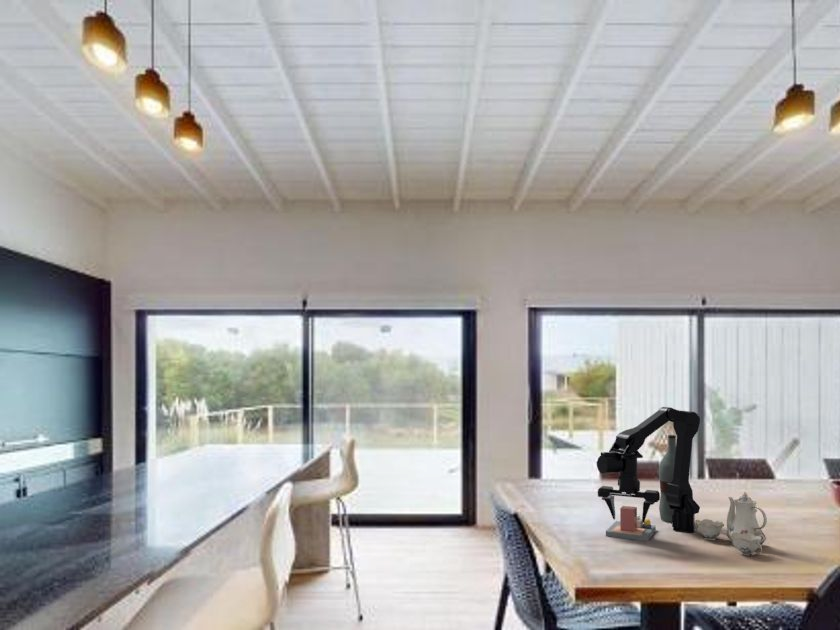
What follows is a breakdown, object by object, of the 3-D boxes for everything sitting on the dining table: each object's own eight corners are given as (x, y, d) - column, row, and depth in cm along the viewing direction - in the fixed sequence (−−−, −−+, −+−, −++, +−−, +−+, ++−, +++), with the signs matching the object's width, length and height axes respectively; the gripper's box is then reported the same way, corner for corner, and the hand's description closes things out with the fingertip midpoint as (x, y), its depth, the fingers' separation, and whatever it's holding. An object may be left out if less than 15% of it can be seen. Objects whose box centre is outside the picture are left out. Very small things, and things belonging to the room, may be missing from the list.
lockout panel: (655, 530, 231) (655, 516, 231) (647, 541, 216) (647, 526, 217) (616, 525, 237) (615, 512, 237) (605, 535, 222) (605, 522, 223)
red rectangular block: (637, 529, 224) (636, 507, 224) (634, 532, 220) (634, 509, 221) (623, 527, 226) (623, 505, 226) (620, 530, 222) (620, 508, 223)
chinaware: (686, 541, 223) (680, 489, 224) (728, 532, 228) (723, 482, 228) (750, 566, 196) (744, 507, 197) (797, 556, 201) (791, 498, 202)
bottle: (660, 522, 242) (659, 436, 244) (658, 516, 250) (656, 433, 252) (689, 524, 239) (687, 437, 241) (685, 518, 248) (684, 434, 250)
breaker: (639, 523, 231) (639, 514, 231) (637, 526, 227) (637, 516, 228) (628, 522, 232) (628, 513, 232) (626, 524, 229) (626, 515, 229)
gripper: (661, 470, 227) (662, 519, 226) (604, 466, 236) (605, 513, 235) (656, 475, 217) (657, 526, 216) (597, 471, 226) (597, 519, 225)
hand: (628, 520), depth 223 cm, fingers open, 9 cm apart
